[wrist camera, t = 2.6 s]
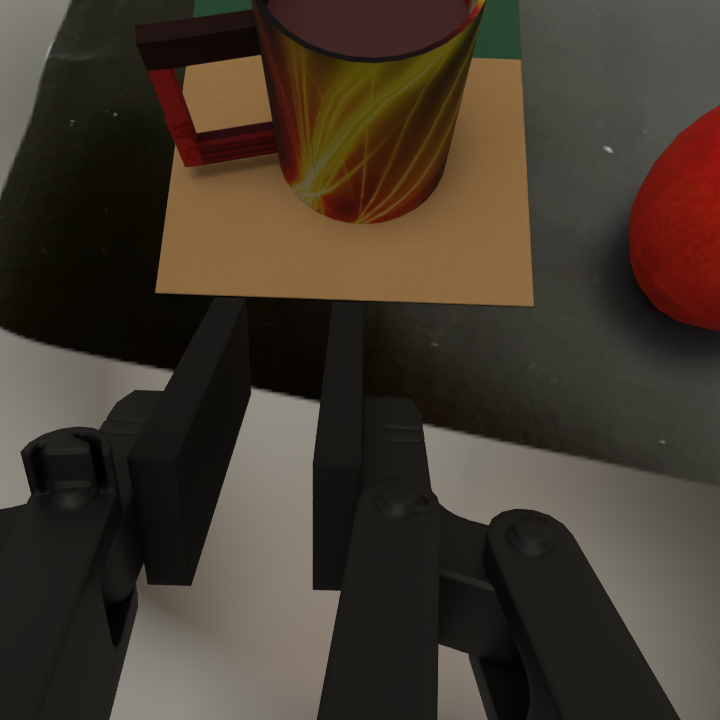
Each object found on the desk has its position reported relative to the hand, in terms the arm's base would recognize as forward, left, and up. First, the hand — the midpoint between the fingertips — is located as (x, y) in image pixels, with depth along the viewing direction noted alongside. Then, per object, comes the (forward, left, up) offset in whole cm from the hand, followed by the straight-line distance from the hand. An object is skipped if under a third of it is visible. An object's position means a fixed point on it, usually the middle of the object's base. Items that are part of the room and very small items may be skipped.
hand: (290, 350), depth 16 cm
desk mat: (+1, +24, -16) cm, 29 cm away
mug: (0, +16, -16) cm, 23 cm away
